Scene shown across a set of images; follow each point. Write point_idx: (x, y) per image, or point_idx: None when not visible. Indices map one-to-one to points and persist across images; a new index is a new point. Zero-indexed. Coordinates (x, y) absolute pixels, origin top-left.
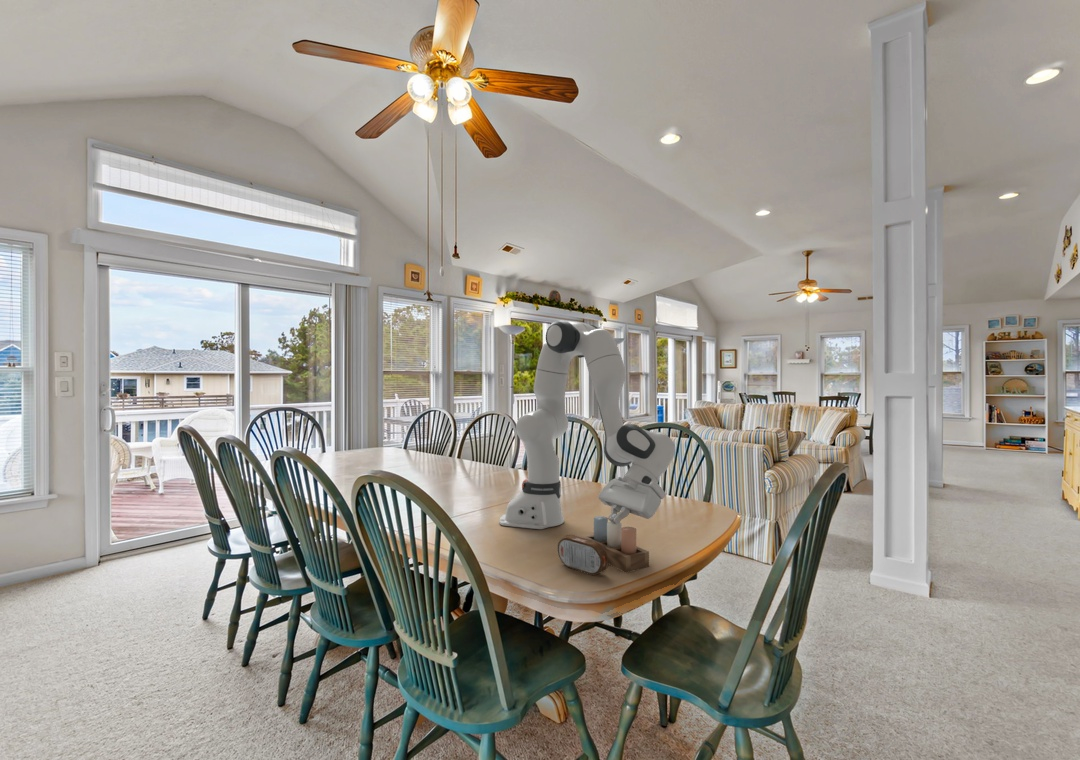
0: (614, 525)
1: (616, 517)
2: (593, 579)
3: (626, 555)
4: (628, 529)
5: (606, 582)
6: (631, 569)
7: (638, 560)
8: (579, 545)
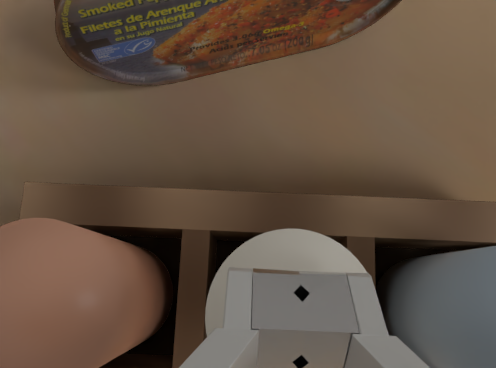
0: (230, 261)
1: (226, 298)
2: None
3: (47, 209)
4: (18, 287)
5: (48, 39)
6: None
7: None
8: None
